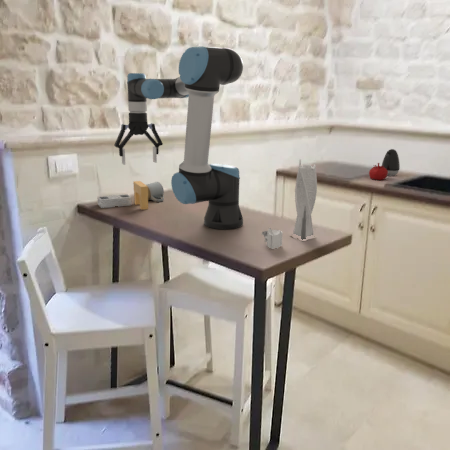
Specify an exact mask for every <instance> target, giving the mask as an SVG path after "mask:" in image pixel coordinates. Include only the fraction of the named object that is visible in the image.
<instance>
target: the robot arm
mask: <svg viewBox="0 0 450 450" xmlns="http://www.w3.org/2000/svg"><path fill="white" fill-rule="evenodd" d="M178 63H179V64H178V74H179V77H176V78H147V76H146V74H145V73H144V72H143V73H142V72H141V73H140V72H138V73H137V72H136V73H135V72H133V73H132V72H129V73H127V76H126V77H127V81H126V87H127V102H128V103H127V105H128V106H127V107H128V108H127V109H128V124H124V123H122V124H120V125H121V127H120V131H119V133H118V136H117V138H116V140H115V142H114V147H115V148H118V153H119V154H118V155H119V157H121V164H122V165H124V166H125V165H126V149H125V148H124V147H125V146H126V145H127V144H128V142H129V141H130V139H131V138H132V137H133V136H140V135H141V136H143V135H144V136H145V137H147V139H148V140H149V141H150V142H151V144H152V145H153V146H152V161H153V163H158V162H157V155H159V154H160V153H159V151H160V150H159V148H160V146H163V145H164V143H163V142H162V140H161V137H160V136H159V134H158V131H157V130H156V125H155V123H153V122H151V123H150V124H149V123H148V113H147V111H148V105H147V100H148V99H149V100H158V99H185V98H186V99H187V98H188V100H187V114H186V129H185V138H184V139H185V141H184V143H185V144H184V152H183V153H184V155H183V161H182V162H181V163H180V164H179V165H178V171H177V172H175V173H173V175H172V176H171V182H170V184H171V185H170V186H171V189H172V192H173V194H174V197H175V199H176V200H177V201H178V202H180V204H183V205H190V204H191V205H195V204H197V203H204V202H208V206H207V207H206V208H207V209H206V212H205V215H204V218H203V225H204V226H205V227H207V228H211V229H215V230H234V229H238V228H240V227H242V226H243V225H244V218H243V214H242V211H241V208H240V179H241V177H240V169H239V168H238V167H237V166H234V165H230V164H223V163H222V164H221V163H209V156H210V155H209V154H210V144H211V142H210V141H211V134H212V124H213V123H212V121H213V111H214V102H215V101H214V99H215V97H216V95H217V94H218V93H219V92H220V86H225V85H226V86H227V85H228V84H233V83H235V82H237V81H238V80H239V79H240V78H241V77H242V75H243V71H244V62H243V59H242V57H241V55H240V54H239V53H238V52H237V51H236V50H234V49H232V48H229V47H215V46H214V47H212V46H201V45H199V46H190V47H188V48H187V49H185V51H184V52H183V53H182V55H181V56H180V60H179V62H178ZM128 129H129V131H128V133H127V135H126V136H125V137H124V135H125V132H126V131H127V130H128ZM148 129H150V130H151V132H152V133H153V134H152V135H153V137H154V138H155V139H154V138H153V137H152V136H151V134H150V133H149V132H148V131H147V130H148ZM123 137H124V138H123ZM122 139H123V140H122Z"/></svg>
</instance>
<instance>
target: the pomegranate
mask: <svg viewBox="0 0 450 450" xmlns="http://www.w3.org/2000/svg"><path fill="white" fill-rule="evenodd" d="M368 172H369V173H368V174H369V178H370V179H371V180H375V181H376V180H377V181H383V180H385V179H386V178H387V177H388V176H387V174H388V171H387V169H386V168H384V166H382V165H380V162H377V164H373V167H371V168H370V169H369V171H368Z"/></svg>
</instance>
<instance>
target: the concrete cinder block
mask: <svg viewBox="0 0 450 450" xmlns="http://www.w3.org/2000/svg"><path fill="white" fill-rule="evenodd" d="M132 199H133V198H132V196H131V195H129V194H128V193H126V194H123V193H122V194H112V195H103V196H102V195H101V196H97V205H98V207H99V208H101V209H107V208H116V207H115V206H118V207H130V206H132V205H133V204H132V202H133V201H132Z"/></svg>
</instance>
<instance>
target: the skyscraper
mask: <svg viewBox="0 0 450 450" xmlns="http://www.w3.org/2000/svg"><path fill="white" fill-rule="evenodd" d="M298 161H299V162H298V170H297V174H296V180H295V189H294V197H295V198H294V199H295V200H294V202H295V209H296V218H295V219H296V220H295V223H294V228H293V234H296V235H298V236H301V239H302V240H303V239H306V237H307V236H311V235H314V227H313V226H314V225H313V219H312V213H313V210H314V206H315V203H316V199H317V192H318V180H317V178H318V177H317V166H316V164H315V163H314V164H313V166H312V164H310V163H303V164H302V159H301V158H299V160H298ZM293 234H292V235H293Z"/></svg>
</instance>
